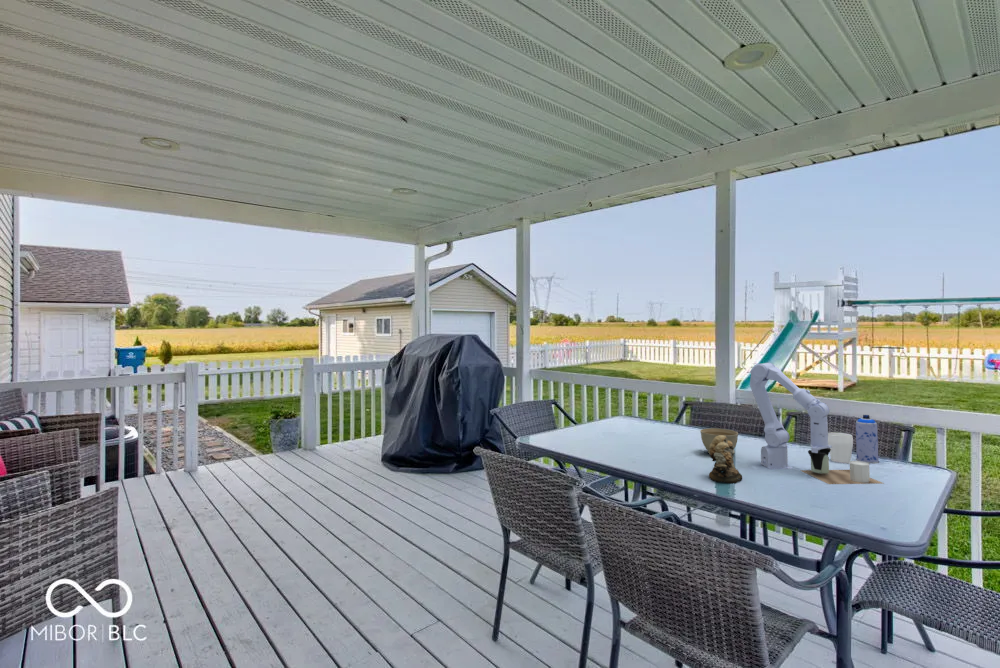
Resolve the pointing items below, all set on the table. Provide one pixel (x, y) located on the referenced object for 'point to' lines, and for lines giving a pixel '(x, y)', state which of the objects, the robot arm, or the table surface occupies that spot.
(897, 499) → the table surface
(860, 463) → the white acorn nut
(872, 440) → the aerosol can
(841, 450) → the cup
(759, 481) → the table surface
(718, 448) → the owl figurine
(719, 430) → the planter bowl
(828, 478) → the walnut board
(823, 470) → the sage green acorn nut
